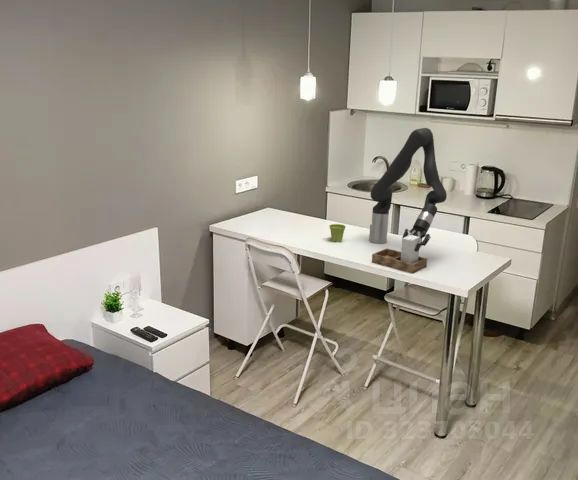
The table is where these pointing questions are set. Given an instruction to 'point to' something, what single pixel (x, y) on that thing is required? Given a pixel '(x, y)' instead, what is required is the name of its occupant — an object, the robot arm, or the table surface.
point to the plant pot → (337, 232)
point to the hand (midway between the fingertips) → (409, 249)
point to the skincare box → (409, 249)
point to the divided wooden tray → (397, 261)
